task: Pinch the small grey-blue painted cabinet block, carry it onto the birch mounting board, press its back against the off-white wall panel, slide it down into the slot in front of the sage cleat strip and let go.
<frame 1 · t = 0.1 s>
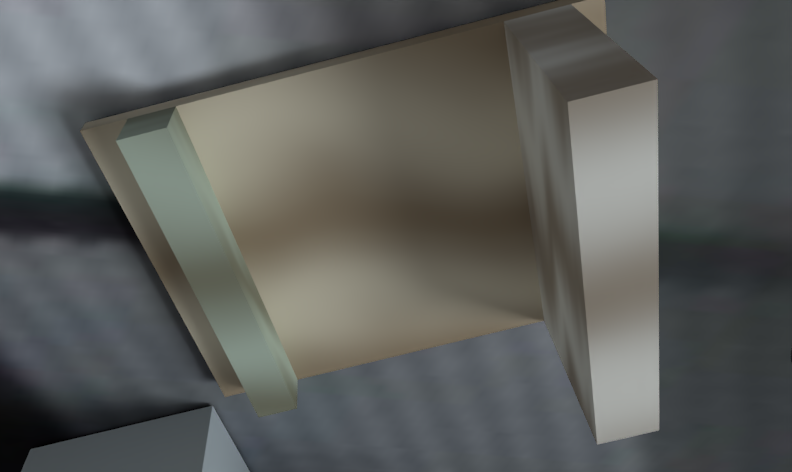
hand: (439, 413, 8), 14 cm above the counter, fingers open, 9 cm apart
cabinet block: (151, 470, 30), on the counter
cleat board: (383, 218, 24), on the counter
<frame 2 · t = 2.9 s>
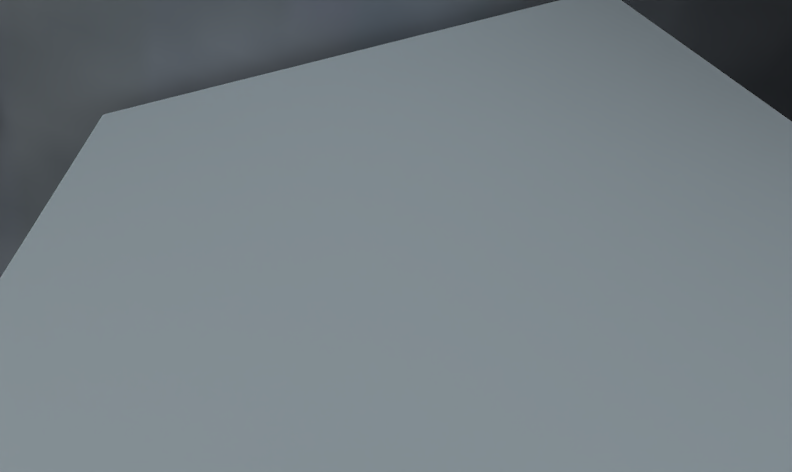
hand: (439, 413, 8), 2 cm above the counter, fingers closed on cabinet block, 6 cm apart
cabinet block: (417, 307, 10), on the counter, touching gripper
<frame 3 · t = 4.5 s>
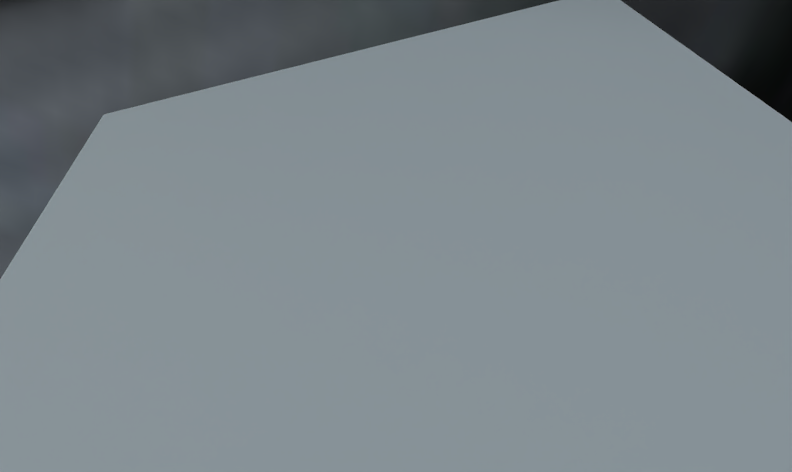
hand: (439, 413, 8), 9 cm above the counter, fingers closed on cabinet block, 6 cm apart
cabinet block: (417, 307, 10), point 6 cm above the counter, touching gripper
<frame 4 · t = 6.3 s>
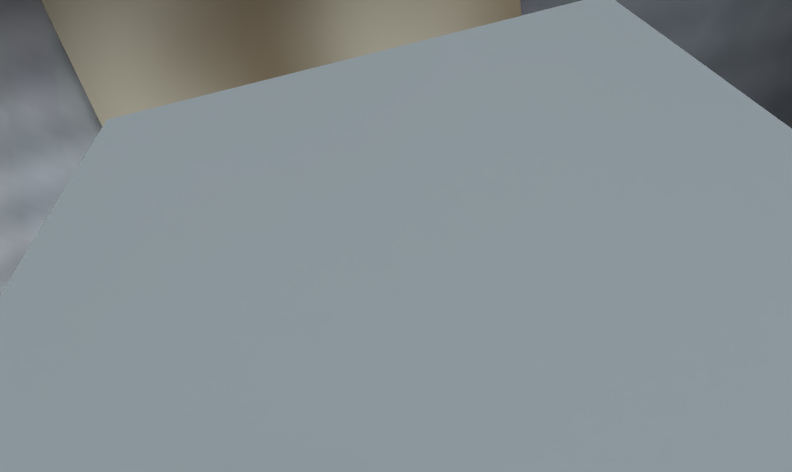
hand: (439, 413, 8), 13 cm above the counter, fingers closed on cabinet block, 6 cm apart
cabinet block: (419, 311, 10), point 11 cm above the counter, touching gripper
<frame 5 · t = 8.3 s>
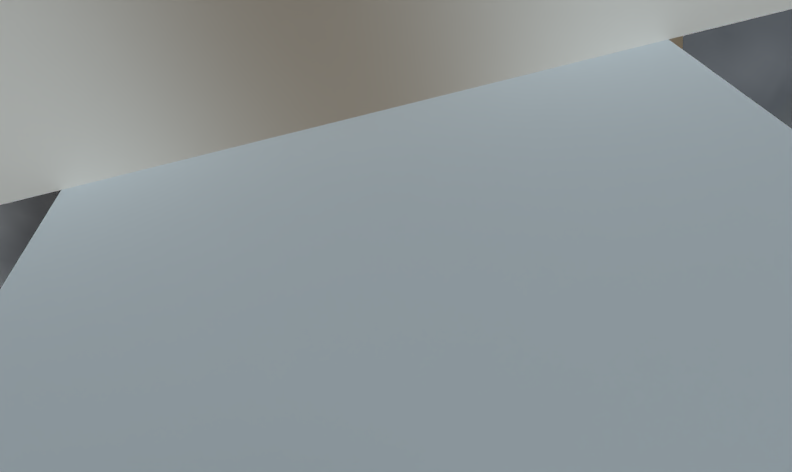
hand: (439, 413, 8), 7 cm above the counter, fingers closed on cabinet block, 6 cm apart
cabinet block: (418, 310, 10), point 5 cm above the counter, touching cleat board, gripper
cleat board: (395, 199, 15), on the counter
when the fingers open (4 cm above the counter, at t = 9.8 s): cabinet block stays where it is, resting on cleat board.
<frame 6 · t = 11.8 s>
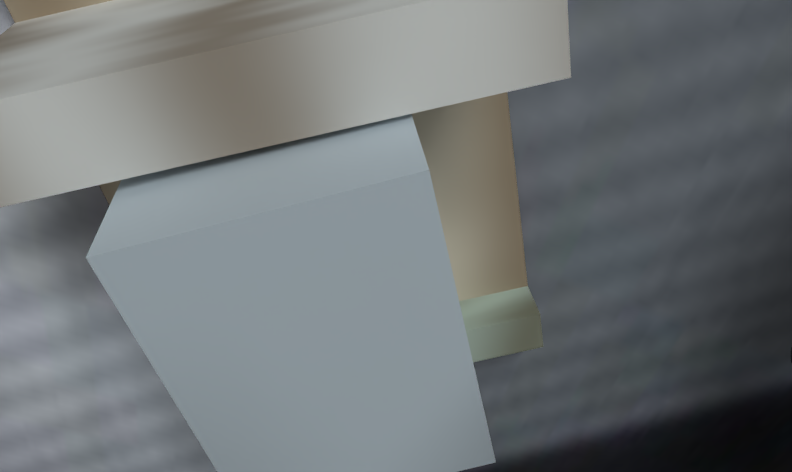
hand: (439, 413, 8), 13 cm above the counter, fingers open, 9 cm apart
cabinet block: (317, 182, 20), point 1 cm above the counter, touching cleat board
cleat board: (321, 193, 21), on the counter
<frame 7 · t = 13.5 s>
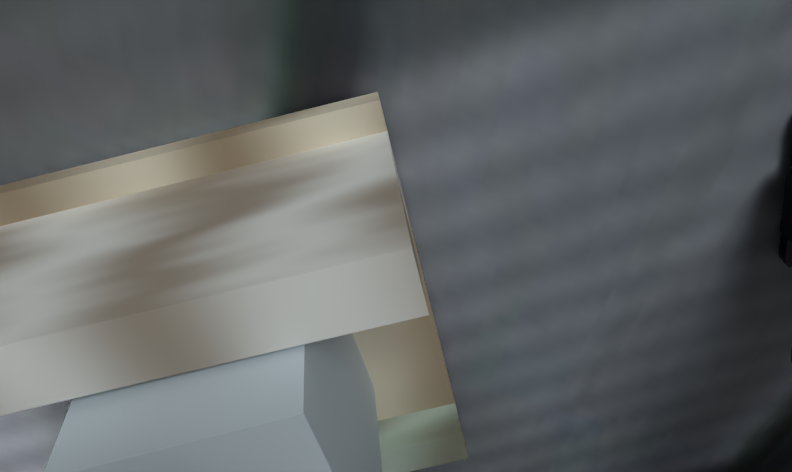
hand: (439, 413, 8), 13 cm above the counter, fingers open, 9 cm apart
cabinet block: (260, 331, 24), point 1 cm above the counter, touching cleat board
cleat board: (266, 336, 24), on the counter
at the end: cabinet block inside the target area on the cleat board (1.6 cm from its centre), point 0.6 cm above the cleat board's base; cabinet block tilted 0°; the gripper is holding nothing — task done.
